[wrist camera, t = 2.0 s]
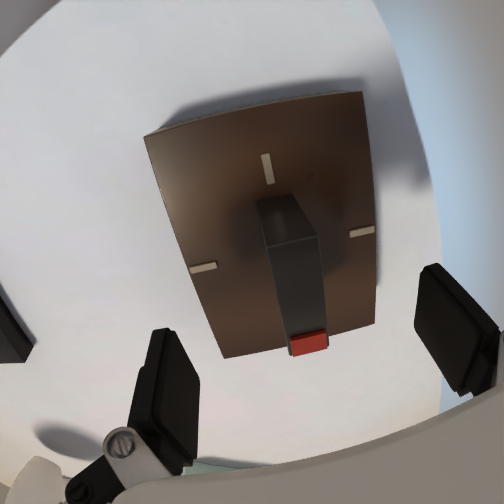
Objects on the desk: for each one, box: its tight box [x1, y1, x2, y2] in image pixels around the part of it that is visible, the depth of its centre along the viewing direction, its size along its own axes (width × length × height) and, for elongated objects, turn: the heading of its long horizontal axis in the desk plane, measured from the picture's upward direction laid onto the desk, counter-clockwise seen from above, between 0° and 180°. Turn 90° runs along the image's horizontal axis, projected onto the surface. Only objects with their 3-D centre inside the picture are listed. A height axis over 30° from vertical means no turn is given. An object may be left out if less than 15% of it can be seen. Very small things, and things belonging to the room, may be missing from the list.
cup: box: [5, 456, 65, 504], centre depth 24 cm, size 10×10×22 cm
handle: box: [255, 194, 329, 357], centre depth 13 cm, size 6×2×5 cm, turn 12°
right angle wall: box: [182, 462, 242, 475], centre depth 34 cm, size 12×12×8 cm
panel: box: [144, 90, 376, 359], centre depth 17 cm, size 14×10×3 cm
